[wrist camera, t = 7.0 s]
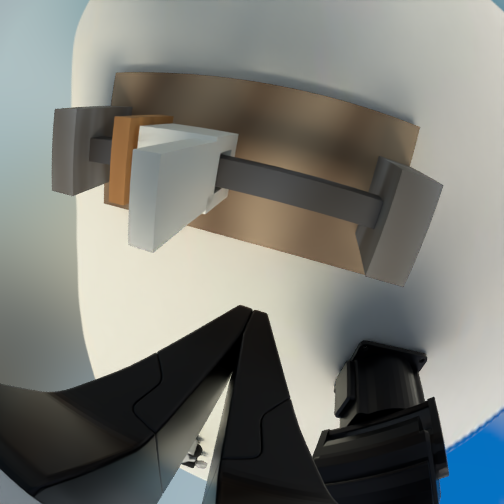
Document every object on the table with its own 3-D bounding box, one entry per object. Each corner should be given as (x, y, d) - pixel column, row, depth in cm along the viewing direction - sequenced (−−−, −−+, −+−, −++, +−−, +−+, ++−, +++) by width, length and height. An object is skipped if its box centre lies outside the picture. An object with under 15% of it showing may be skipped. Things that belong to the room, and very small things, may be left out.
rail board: (415, 126, 15) (460, 130, 9) (369, 269, 20) (383, 330, 14) (123, 73, 17) (57, 67, 12) (111, 199, 22) (52, 228, 16)
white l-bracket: (238, 134, 15) (162, 147, 8) (227, 196, 17) (153, 258, 9) (172, 123, 16) (67, 135, 8) (164, 182, 17) (67, 229, 10)
